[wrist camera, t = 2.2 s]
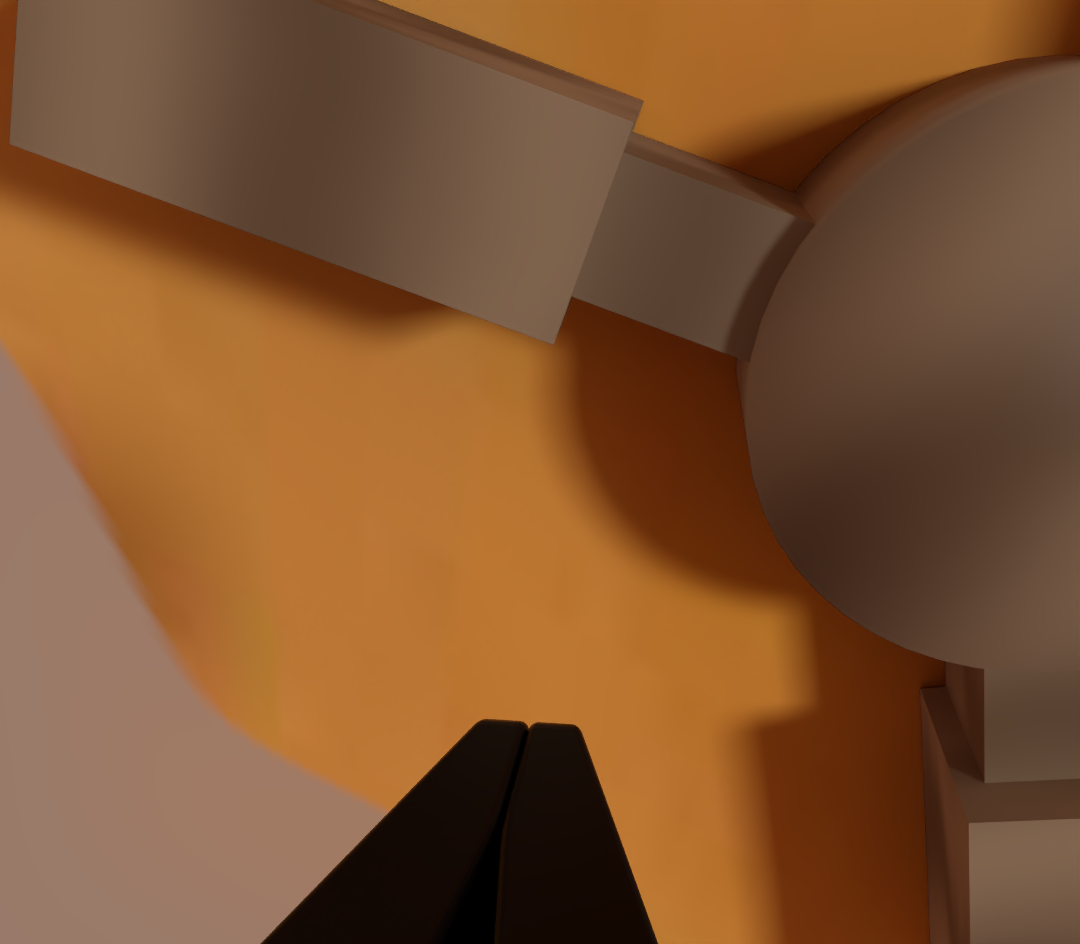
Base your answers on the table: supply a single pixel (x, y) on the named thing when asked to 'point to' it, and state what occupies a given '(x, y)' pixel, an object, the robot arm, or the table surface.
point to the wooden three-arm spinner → (703, 324)
